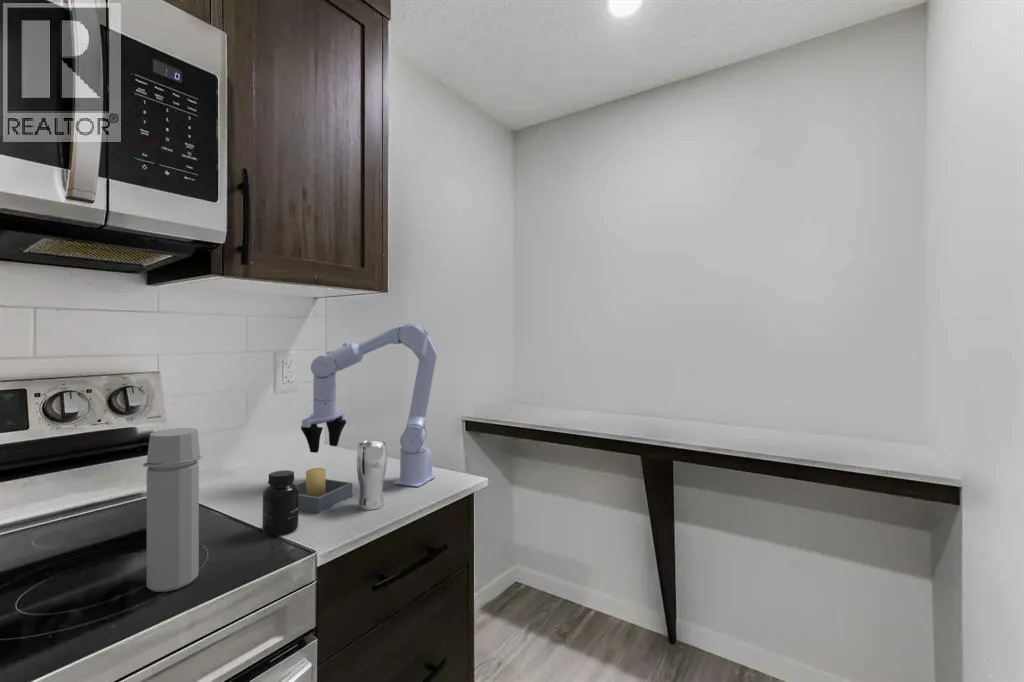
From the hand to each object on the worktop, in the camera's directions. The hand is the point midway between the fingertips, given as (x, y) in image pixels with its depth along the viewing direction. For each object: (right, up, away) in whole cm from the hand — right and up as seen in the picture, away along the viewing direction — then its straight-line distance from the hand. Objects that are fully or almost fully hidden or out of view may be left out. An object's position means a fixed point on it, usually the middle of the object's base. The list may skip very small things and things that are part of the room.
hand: (324, 448), depth 130 cm
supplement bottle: (+3, -10, -31) cm, 32 cm away
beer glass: (+18, -10, -16) cm, 26 cm away
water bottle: (-5, -11, -51) cm, 52 cm away
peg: (+3, -9, -14) cm, 17 cm away
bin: (+3, -10, -14) cm, 17 cm away
